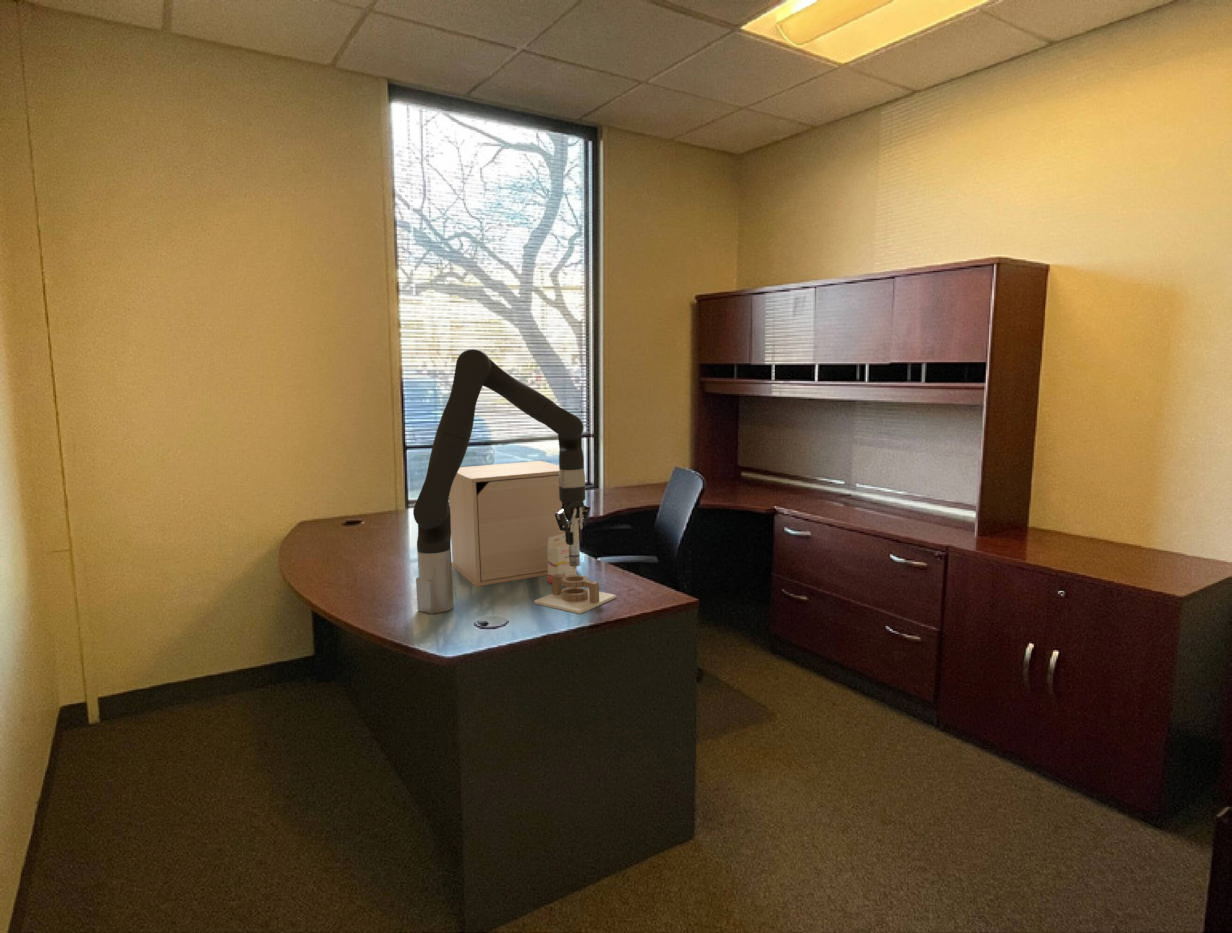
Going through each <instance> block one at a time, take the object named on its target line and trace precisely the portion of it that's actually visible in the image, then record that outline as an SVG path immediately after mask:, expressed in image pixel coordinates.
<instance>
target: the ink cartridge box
mask: <svg viewBox="0 0 1232 933" xmlns="http://www.w3.org/2000/svg"><path fill="white" fill-rule="evenodd" d="M556 538H558V539H559V538H560V540H558V541H554V540H555V539H556ZM565 540H566V536H565V534H561V535H557V536H553V537H549V538H548V547H547V554H548V575H547V583H549V584H552V575H555V574H559V575H563V576H572V575H577V570H576V567H577V566H576V567H572V566H570V564H569V545H568V544H566V542H565Z"/></svg>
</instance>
